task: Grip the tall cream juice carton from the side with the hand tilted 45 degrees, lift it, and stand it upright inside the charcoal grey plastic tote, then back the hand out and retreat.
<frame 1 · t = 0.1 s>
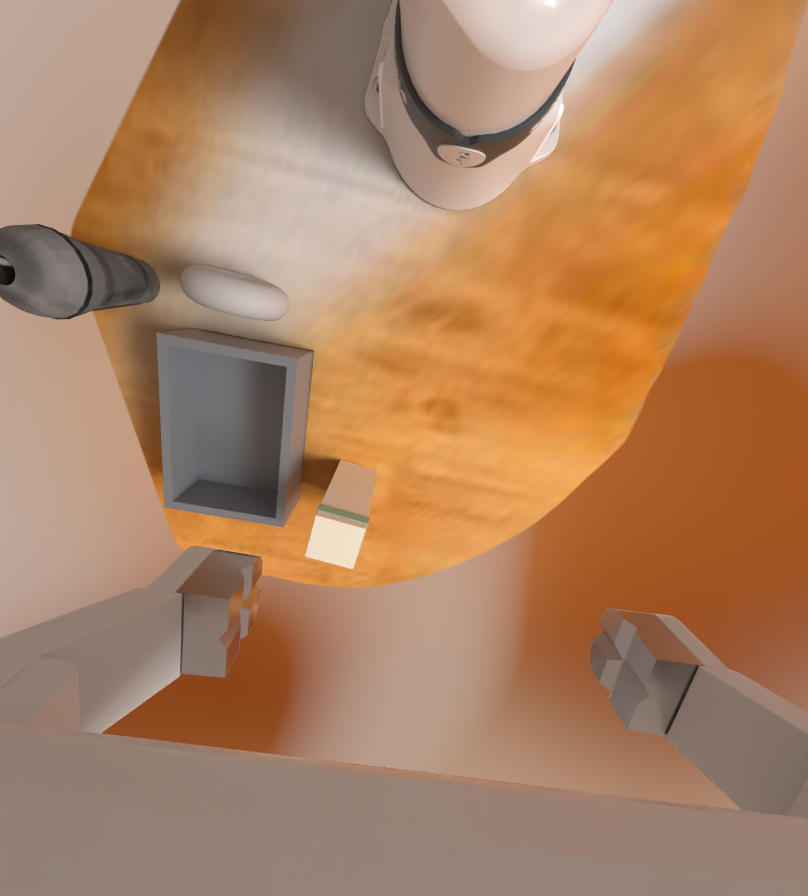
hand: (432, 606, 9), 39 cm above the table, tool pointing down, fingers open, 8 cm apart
juice carton: (354, 481, 51), on the table
donut: (257, 294, 43), on the table
beverage cup: (140, 281, 43), on the table
tote: (250, 420, 48), on the table
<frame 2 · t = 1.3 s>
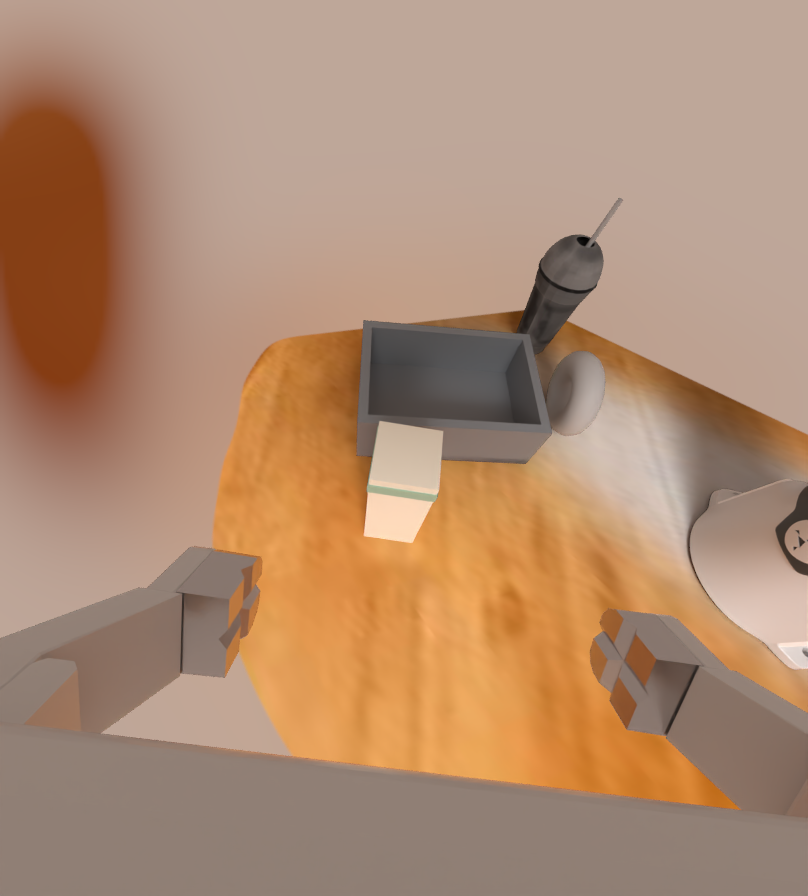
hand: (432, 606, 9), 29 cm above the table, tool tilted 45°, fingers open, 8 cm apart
juice carton: (391, 516, 40), on the table
donut: (553, 418, 50), on the table
beverage cup: (528, 343, 56), on the table
tote: (439, 410, 48), on the table
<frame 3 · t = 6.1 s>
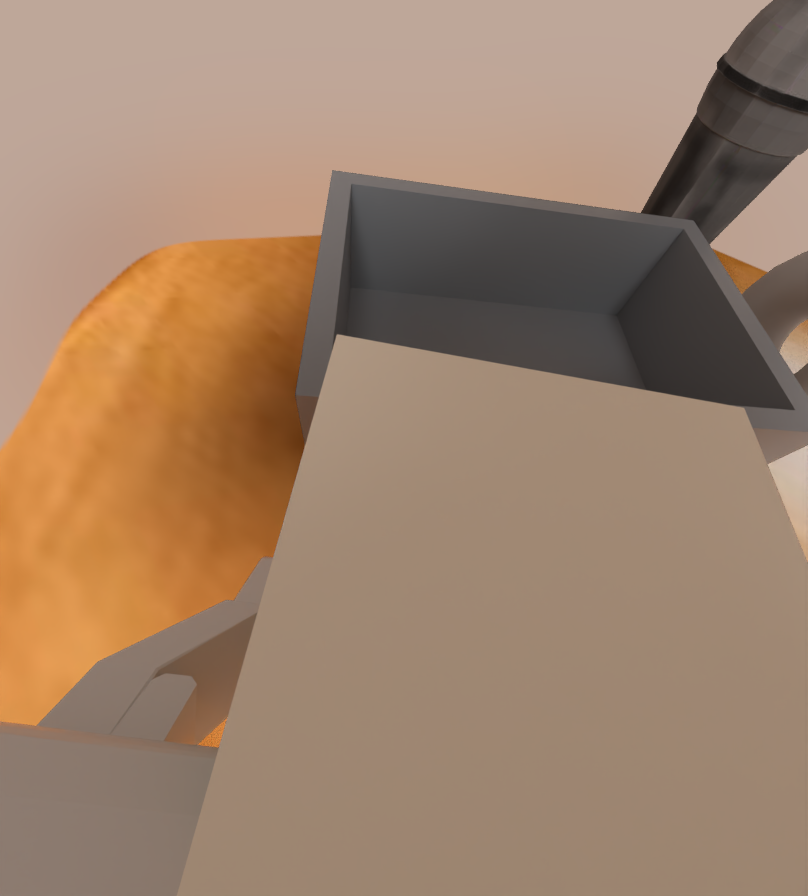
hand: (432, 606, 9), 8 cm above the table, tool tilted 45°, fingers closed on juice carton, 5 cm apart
juice carton: (394, 647, 15), on the table, touching gripper
donut: (716, 404, 25), on the table
beverage cup: (640, 272, 31), on the table
tote: (495, 384, 23), on the table
when the fingers open (10 cm above the table, at t = 15.1 s): juice carton drops 1 cm, resting on tote.
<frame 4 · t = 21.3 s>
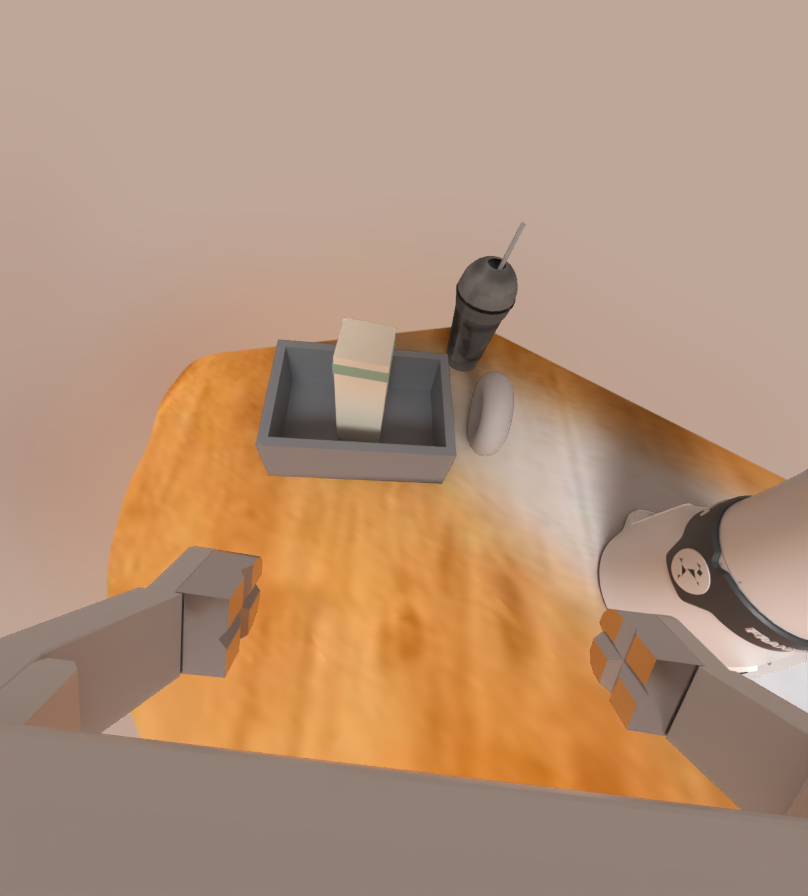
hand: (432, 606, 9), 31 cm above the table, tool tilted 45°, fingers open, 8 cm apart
juice carton: (361, 424, 47), point 1 cm above the table, touching tote
donut: (476, 436, 50), on the table
beverage cup: (461, 359, 56), on the table
tote: (360, 428, 48), on the table
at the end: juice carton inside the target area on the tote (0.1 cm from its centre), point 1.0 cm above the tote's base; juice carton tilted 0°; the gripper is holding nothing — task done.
